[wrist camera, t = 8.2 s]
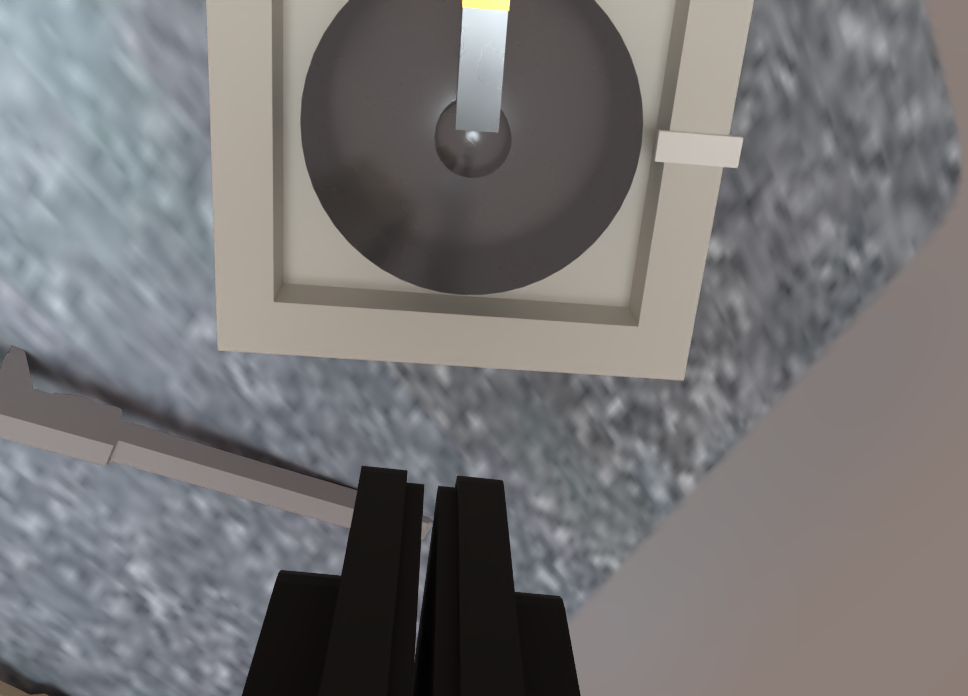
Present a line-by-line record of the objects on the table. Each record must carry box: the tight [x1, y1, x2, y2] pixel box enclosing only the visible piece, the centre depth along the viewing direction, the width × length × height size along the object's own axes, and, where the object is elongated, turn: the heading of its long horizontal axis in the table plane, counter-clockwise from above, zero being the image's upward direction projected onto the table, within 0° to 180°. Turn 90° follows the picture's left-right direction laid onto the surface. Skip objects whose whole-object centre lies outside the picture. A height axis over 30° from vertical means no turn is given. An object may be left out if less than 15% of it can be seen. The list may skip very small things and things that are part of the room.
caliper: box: [0, 345, 433, 540], centre depth 36 cm, size 20×1×6 cm, turn 63°
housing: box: [206, 0, 754, 380], centre depth 32 cm, size 17×17×4 cm
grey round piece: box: [300, 0, 643, 295], centre depth 29 cm, size 11×11×7 cm
